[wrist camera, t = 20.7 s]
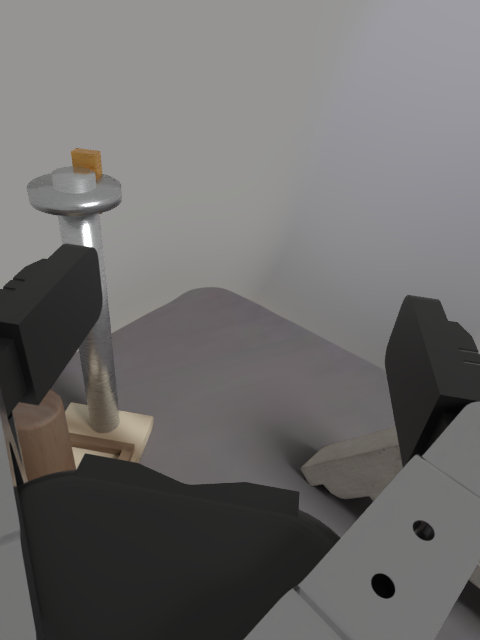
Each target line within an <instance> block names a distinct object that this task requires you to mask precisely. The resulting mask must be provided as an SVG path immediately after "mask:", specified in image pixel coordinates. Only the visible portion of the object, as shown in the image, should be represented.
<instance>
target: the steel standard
mask: <svg viewBox="0 0 480 640" xmlns="http://www.w3.org/2000/svg"><path fill="white" fill-rule="evenodd" d="M71 155H72V163H73V167H63V168H59V169H56V170H54V171H53V172H52V173H51V174H47V175H43V176H40V177H38V178H36V179H34V180H32V181H31V182H30V183H29V184H28V185H27V192H28V197H29V202H30V204H31V206H33V207H34V208H35V209H37V210H39V211H42V212H45V213H48V214H53V215H58V219H59V225H60V232H61V237H62V244H65V243H68V244H74V245H81V246H88V247H93V248H95V249H96V251H97V253H98V259H99V268H100V277H101V287H102V296H103V304H102V310H101V314H100V317H99V319H98V321H97V322H96V324H95V325H94V326H93V328H92V329H91V331H90V332H89V334H88V335H87V337H86V338H85V339H84V341H83V342H82V344H81V345H80V347H79V353H80V360H81V366H82V372H83V379H84V385H85V392H86V398H87V404H88V411H89V417H90V424H91V427H92V429H93V430H94V431H96V432H98V433H108V432H111V431H113V430H115V429H116V428H117V427H118V425H119V423H120V417H119V407H118V397H117V387H116V377H115V367H114V357H113V347H112V337H111V327H110V317H109V307H108V298H107V297H108V296H107V286H106V276H105V267H104V257H103V246H102V236H101V226H100V216H99V214H101V213H102V212H106V211H109V210H111V209H113V208H115V207H117V206H118V205H119V204H120V203H121V201H122V192H121V184H120V183H119V181H118V180H116V179H114V178H112V177H110V176H108V175H104V174H102V167H101V155H100V151H94V150H87V149H79V148H76V149H75V150H73V151H71Z"/></svg>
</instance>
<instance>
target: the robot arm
mask: <svg viewBox="0 0 480 640" xmlns="http://www.w3.org/2000/svg"><path fill="white" fill-rule="evenodd" d="M102 304H103V296H102V287H101V277H100V268H99V259H98V253H97V251H96V249H95V248H93V247H88V246H81V245H74V244H68V243H65V244H63V245H62V246H61V247H60V248H59V249H58V250H57V251H55V252H54V253H53V255H51V256H50V257H49V258H48V259H41V260H39V261H37V262H35V263H33V264H30V265H28V266H26V267H25V268H24V269H22V270H21V271H20V272H19V273H18V274H17V275H16V276H15V277H14V278H13V280H10V281H9V282H8V283H7V284H6V285H5V286H4V287H3V289H0V640H434V638H435V637H436V635H437V633H438V632H439V630H440V628H441V626H442V625H443V623H444V621H445V619H446V618H447V616H448V614H449V613H450V611H451V609H452V607H453V606H454V604H455V602H456V600H457V599H458V597H459V595H460V594H461V592H462V590H463V588H464V587H465V585H466V583H467V581H468V580H469V578H470V576H471V575H472V573H473V571H474V569H475V568H476V566H477V564H478V563H479V561H480V354H478V350H477V347H476V345H475V343H474V340H473V338H472V336H471V335H470V334H469V333H468V332H467V331H466V330H464V328H463V327H462V326H460V324H459V323H458V322H451V321H448V320H447V318H446V315H445V312H444V310H443V307H442V305H441V302H440V301H439V300H437V299H431V298H425V297H417V296H411V295H407V296H406V297H405V299H404V301H403V303H402V306H401V308H400V311H399V314H398V317H397V320H396V322H395V325H394V328H393V331H392V334H391V336H390V339H389V343H388V345H387V350H386V356H385V368H386V374H387V380H388V385H389V391H390V397H391V403H392V408H393V414H394V420H395V426H396V431H397V437H398V443H399V449H400V454H401V460H402V466H403V469H402V470H401V471H400V472H399V473H398V474H397V476H396V477H395V478H394V479H393V480H392V481H391V482H390V483H389V485H388V486H387V487H386V488H385V489H384V490H383V491H382V492H381V494H380V495H379V496H378V497H377V498H376V499H375V500H374V501H373V503H372V504H371V505H370V506H369V507H368V508H367V509H366V510H365V512H364V513H363V514H362V515H361V516H360V517H359V518H358V519H357V521H356V522H355V523H354V524H353V525H352V526H351V527H350V528H349V530H348V531H347V532H346V533H345V534H344V535H343V536H342V537H341V538H340V537H339V536H338V535H337V534H336V533H335V532H334V531H332V530H331V529H330V528H329V527H327V526H326V525H325V524H323V523H322V522H321V521H319V520H318V519H316V518H314V517H312V516H311V515H309V514H307V513H305V512H303V511H301V510H299V492H297V491H291V490H286V489H280V488H275V487H269V486H263V485H258V484H252V483H247V482H240V483H220V484H200V485H188V484H184V483H181V482H179V481H176V480H174V479H172V478H170V477H167V476H165V475H163V474H161V473H159V472H156V471H154V470H152V469H150V468H147V467H145V466H143V465H141V464H138V463H136V462H131V461H125V460H120V459H114V458H109V457H103V456H97V455H92V454H86V453H85V454H84V456H83V458H82V460H81V462H80V464H79V466H78V468H77V469H76V470H68V471H61V472H56V473H52V474H48V475H44V476H41V477H39V478H36V479H33V480H30V481H28V480H27V476H26V471H25V466H24V461H23V456H22V452H21V447H20V442H19V437H18V432H17V427H16V422H15V418H14V415H13V409H14V408H15V407H16V405H17V404H18V403H19V402H21V403H26V404H32V405H38V406H39V404H40V403H41V401H42V400H43V398H44V397H45V396H46V394H47V393H48V391H49V390H50V388H51V387H52V386H53V384H54V383H55V381H56V380H57V378H58V377H59V375H60V374H61V373H62V371H63V370H64V368H65V367H66V365H67V364H68V362H69V361H70V360H71V358H72V357H73V355H74V354H75V352H76V351H77V350H78V348H79V347H80V345H81V344H82V342H83V341H84V339H85V338H86V337H87V335H88V334H89V332H90V331H91V329H92V328H93V326H94V325H95V324H96V322H97V321H98V319H99V317H100V314H101V310H102Z"/></svg>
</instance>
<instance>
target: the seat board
mask: <svg viewBox="0 0 480 640" xmlns="http://www.w3.org/2000/svg"><path fill="white" fill-rule="evenodd" d="M65 416H66V421H67V426H68V431H69V435H70V440H71V445H72V450H73V455H74V460H75V465H76V469H77V468H78V466H79V464H80V462H81V460H82V458H83V456H84V454H85V453H86V454H92V455H97V456H103V457H109V458H114V459H120V460H125V461H131V462H136V463H138V464H139V461H140V458H141V456H142V453H143V451H144V448H145V446H146V443H147V441H148V438H149V436H150V433H151V430H152V428H153V425H154V422H153V416H147V415H142V414H136V413H130V412H124V411H119V417H120V423H119V425H118V427H117V428H116V429H115V430H113V431H111V432H108V433H98V432H96V431H94V430H93V429H92V427H91V424H90V417H89V411H88V405H84V404H78V403H72V402H71V403H70V405H69V406H68V408H67V410H66V411H65Z"/></svg>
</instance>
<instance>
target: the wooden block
mask: <svg viewBox="0 0 480 640" xmlns="http://www.w3.org/2000/svg"><path fill="white" fill-rule="evenodd" d="M13 415H14V418H15V422H16V427H17V432H18V437H19V442H20V447H21V452H22V456H23V461H24V466H25V471H26V476H27V480H28V481H30V480H33V479H36V478H39V477H41V476H44V475H48V474H52V473H56V472H61V471H68V470H76V465H75V460H74V455H73V450H72V445H71V440H70V435H69V431H68V426H67V421H66V416H65V411H64V406H63V402H62V399H61V397H60V396H59V395H58V394H57V393H56V392H54V391H53V390H49V391H48V393H47V394H46V396H45V397H44V398H43V400H42V401H41V403H40V404H39V406H38V405H32V404H26V403H21V402H19V403H18V404H17V405H16V407H15V408H14V409H13Z"/></svg>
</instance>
